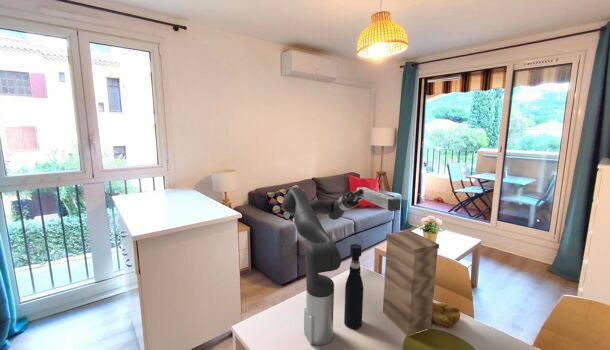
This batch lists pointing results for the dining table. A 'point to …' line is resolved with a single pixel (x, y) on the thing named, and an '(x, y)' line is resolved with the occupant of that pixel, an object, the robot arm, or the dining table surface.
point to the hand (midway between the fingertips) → (366, 190)
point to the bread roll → (444, 315)
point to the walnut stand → (409, 280)
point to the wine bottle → (354, 291)
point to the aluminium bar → (380, 199)
